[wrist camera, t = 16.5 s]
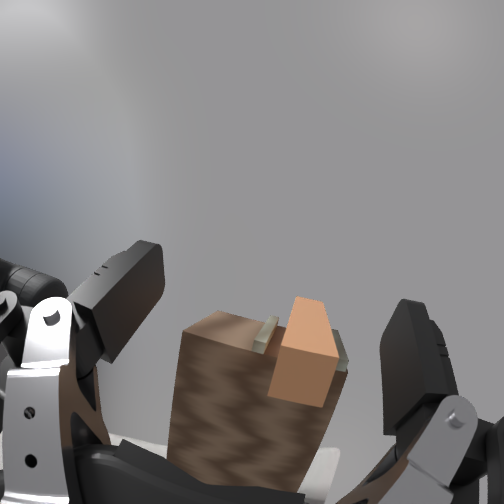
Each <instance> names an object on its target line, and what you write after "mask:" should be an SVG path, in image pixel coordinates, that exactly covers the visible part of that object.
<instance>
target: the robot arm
mask: <svg viewBox="0 0 504 504" xmlns="http://www.w3.org/2000/svg"><path fill="white" fill-rule="evenodd" d="M164 287H165V276H164V265H163V251H162V247H161V246H160V245H159V244H155V243H151V242H147V241H142V240H139V241H137V242H136V243H135V244H134V245H132V246H131V247H130V248H129V249H128V250H127V251H123V252H121V253H118V254H116V255H114V256H112V257H111V258H109V259H108V260H107V261H106V262H105V263H104V264H103V265H102V267H99V268H98V269H97V270H96V271H95V272H94V274H92V275H91V276H90V277H88V278H87V279H86V280H85V281H84V282H83V283H82V284H81V285H80V286H79V287H78V288H77V289H76V290H74V291H73V292H72V293H71V294H70V295H69V296H68V292H67V289H66V286H65V285H64V283H62V281H60V280H59V279H57V278H54V277H52V276H49V275H46V274H43V273H40V272H38V271H35V270H32V269H30V268H27V267H24V266H20V265H16V264H13V263H11V262H8V261H5V260H3V259H1V258H0V343H1V344H2V345H3V347H4V348H5V350H6V351H7V353H8V355H7V356H6V358H5V359H4V360H3V361H2V363H1V364H0V433H1V432H2V430H3V437H2V447H3V470H0V504H308V503H305V502H304V498H305V494H301V493H294V492H287V491H281V490H275V489H270V488H265V487H260V486H225V485H210V484H206V483H203V482H201V481H199V480H197V479H196V478H194V477H193V476H191V475H189V474H188V473H186V472H185V471H183V470H182V469H180V468H178V467H177V466H175V465H174V464H172V463H171V462H170V461H168V460H167V459H165V458H164V457H162V456H159V455H157V454H155V453H152V452H150V451H148V450H146V449H143V448H141V447H139V446H137V445H135V444H133V443H131V442H128V441H126V440H124V439H122V441H121V443H120V445H119V446H115V445H111V442H110V438H109V434H108V432H107V429H106V426H105V424H104V421H103V418H102V413H101V405H100V397H99V386H98V374H97V367H96V363H97V361H98V360H99V359H100V358H101V359H103V360H105V361H107V362H109V363H111V364H112V363H113V362H114V360H115V359H116V357H117V356H118V354H119V353H120V352H121V350H122V349H123V348H124V346H125V345H126V344H127V342H128V341H129V339H130V338H131V337H132V335H133V334H134V333H135V331H136V330H137V329H138V327H139V326H140V325H141V323H142V322H143V321H144V319H145V318H146V317H147V315H148V314H149V313H150V311H151V310H152V309H153V307H154V306H155V305H156V303H157V302H158V301H159V300H160V298H161V296H162V294H163V291H164ZM445 346H446V344H445V341H444V338H443V334H442V332H441V331H440V329H439V328H438V326H437V325H436V324H435V322H434V321H433V320H430V319H429V316H428V313H427V310H426V307H425V305H424V303H422V302H416V301H411V300H407V299H402V300H401V301H400V302H399V304H398V305H397V307H396V309H395V311H394V313H393V315H392V317H391V319H390V321H389V323H388V325H387V327H386V329H385V331H384V333H383V335H382V338H381V342H380V360H381V374H382V391H383V417H384V418H383V423H384V425H383V429H384V430H383V433H384V435H394V436H396V443H395V444H394V445H393V446H392V447H391V448H390V449H389V451H388V452H387V453H386V454H385V456H384V457H383V458H382V459H381V460H380V462H379V463H378V464H377V465H376V466H375V467H374V469H373V470H372V471H371V472H370V473H369V474H368V475H367V476H366V477H365V478H364V480H363V481H362V482H361V483H360V484H359V485H358V486H357V487H356V488H355V489H353V490H352V491H351V492H350V493H348V494H347V495H346V496H345V497H343V498H342V499H341V500H339V501H338V502H337V503H336V504H479V479H480V478H482V477H484V476H485V475H488V504H504V417H502V418H501V419H500V420H499V421H498V422H497V423H496V424H493V423H490V422H487V421H484V420H481V419H478V418H477V413H476V411H475V408H474V407H473V405H472V404H471V403H470V402H469V401H468V400H467V399H465V398H464V397H462V396H459V394H458V390H457V385H456V381H455V377H454V373H453V369H452V365H451V362H450V358H448V356H449V354H448V351H447V348H446V347H445Z"/></svg>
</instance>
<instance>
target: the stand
mask: <svg viewBox="0 0 504 504" xmlns="http://www.w3.org/2000/svg"><path fill="white" fill-rule="evenodd" d="M278 320H279V317H276V316H270V317H269V318H268V320H267V322H266V323H264V322H260V321H256V320H252V319H248V318H244V317H240V316H237V315H232V314H229V313H225V312H222V311H216V312H215V313H213V314H211V315H210V316H208V317H206V318H204V319H202V320H201V321H199V322H197V323H195V324H194V325H192V326H191V327H188V328H187V329H185V330H183V332H182V339H181V345H180V352H179V359H178V365H177V372H176V379H175V387H174V395H173V403H172V411H171V419H170V429H169V438H168V449H167V460H168V461H170V462H171V463H172V464H174V465H175V466H177V467H178V468H180V469H182V470H183V471H185V472H186V473H188V474H189V475H191V476H193V477H194V478H196V479H197V480H199V481H201V482H203V483H206V484H210V485H225V486H260V487H265V488H270V489H275V490H281V491H287V492H294V493H297V491H298V489H299V487H300V485H301V483H302V481H303V479H304V477H305V475H306V473H307V471H308V469H309V467H310V465H311V463H312V461H313V459H314V457H315V454H316V452H317V450H318V448H319V446H320V443H321V441H322V439H323V436H324V434H325V432H326V430H327V427H328V425H329V422H330V420H331V417H332V415H333V412H334V410H335V407H336V404H337V402H338V399H339V397H340V394H341V391H342V388H343V386H344V383H345V380H346V377H347V374H348V370H347V365H348V362H349V360H348V357H347V354H346V352H345V349H344V346H343V343H342V341H341V338H340V335H339V332H338V330H334V329H331V331H332V334H333V337H334V341H335V344H336V348H337V351H338V355H339V360H338V363H337V366H336V370H335V373H334V376H333V379H332V382H331V385H330V387H329V390H328V393H327V396H326V399H325V402H324V404H323V407H322V408H321V407H316V406H311V405H306V404H301V403H296V402H291V401H287V400H282V399H278V398H274V397H270V396H267V395H268V391H269V388H270V384H271V381H272V377H273V373H274V369H275V366H276V362H277V358H278V354H279V351H280V347H281V343H282V340H283V337H284V334H285V331H286V328H285V327H281V326H277V324H278Z"/></svg>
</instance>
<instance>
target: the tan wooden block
mask: <svg viewBox="0 0 504 504" xmlns="http://www.w3.org/2000/svg"><path fill="white" fill-rule="evenodd" d="M338 360H339V355H338V351H337V348H336V344H335V341H334V337H333V334H332V331H331V327H330V324H329V320H328V317H327V314H326V310H325V307H324V304H323V302H320V301H316V300H311V299H307V298H302V297H298V296H297V297H296V299H295V303H294V306H293V309H292V312H291V315H290V319H289V322H288V325H287V328H286V331H285V334H284V337H283V340H282V343H281V347H280V351H279V354H278V358H277V362H276V366H275V369H274V373H273V377H272V381H271V384H270V388H269V391H268V395H267V396H270V397H274V398H278V399H282V400H287V401H291V402H296V403H301V404H306V405H311V406H316V407H321V408H322V407H323V404H324V402H325V399H326V396H327V393H328V390H329V387H330V385H331V382H332V379H333V376H334V373H335V370H336V366H337V363H338Z"/></svg>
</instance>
